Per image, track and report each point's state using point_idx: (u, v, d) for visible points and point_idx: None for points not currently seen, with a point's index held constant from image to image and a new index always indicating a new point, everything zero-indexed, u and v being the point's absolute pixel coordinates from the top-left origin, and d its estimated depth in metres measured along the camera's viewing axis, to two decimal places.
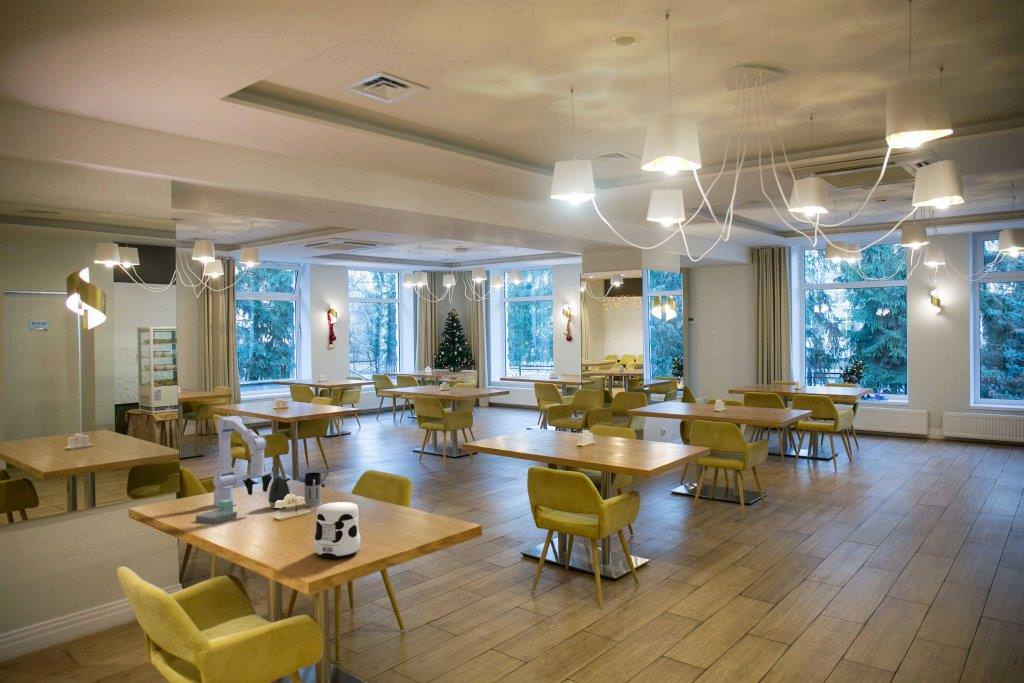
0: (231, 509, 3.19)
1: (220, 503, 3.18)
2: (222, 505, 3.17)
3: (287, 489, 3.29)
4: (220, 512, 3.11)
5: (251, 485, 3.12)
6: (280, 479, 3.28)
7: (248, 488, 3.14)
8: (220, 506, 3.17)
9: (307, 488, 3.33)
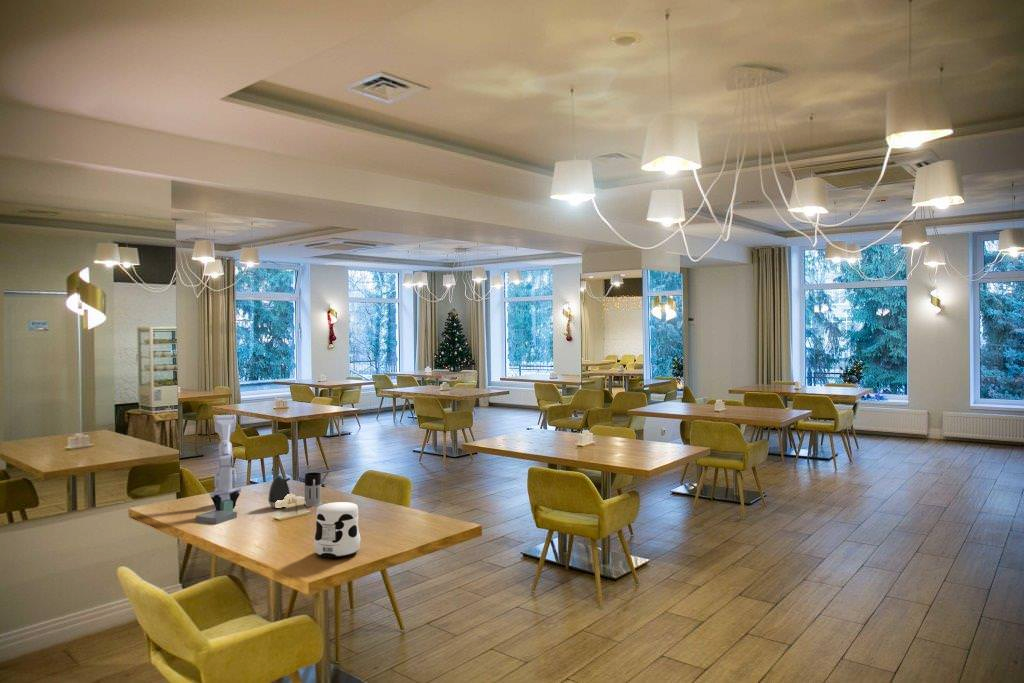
0: (231, 509, 3.19)
1: (220, 503, 3.18)
2: (222, 505, 3.17)
3: (287, 489, 3.29)
4: (220, 512, 3.11)
5: (219, 502, 3.14)
6: (280, 479, 3.28)
7: (216, 505, 3.16)
8: (220, 506, 3.17)
9: (307, 488, 3.33)
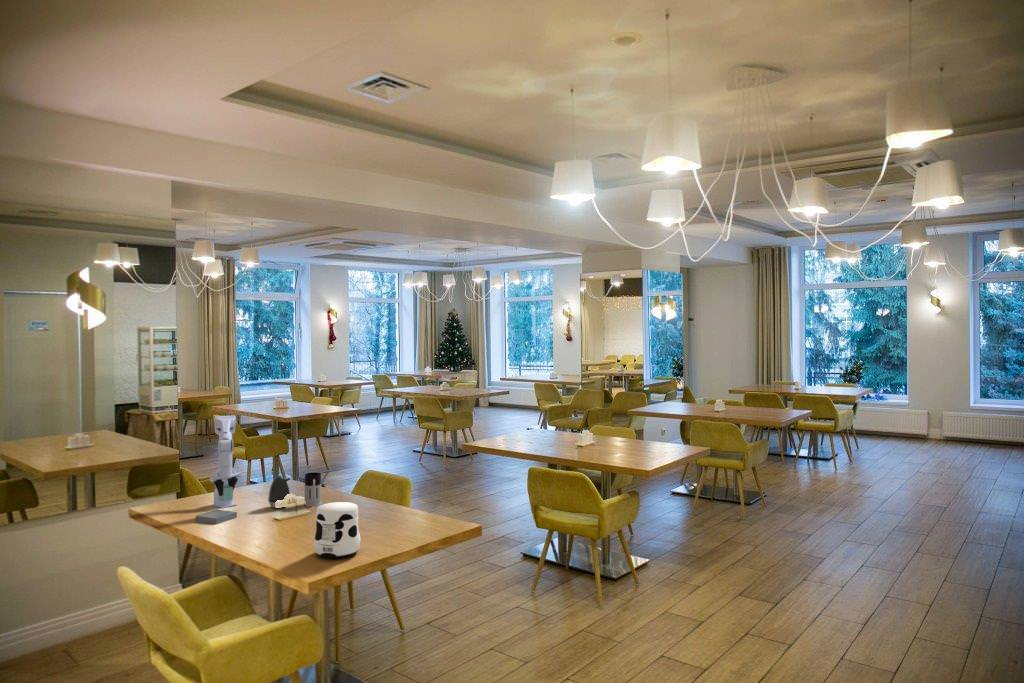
0: (231, 495, 3.19)
1: None
2: None
3: (287, 489, 3.29)
4: (220, 512, 3.11)
5: (221, 486, 3.15)
6: (280, 479, 3.28)
7: (219, 489, 3.17)
8: None
9: (307, 488, 3.33)
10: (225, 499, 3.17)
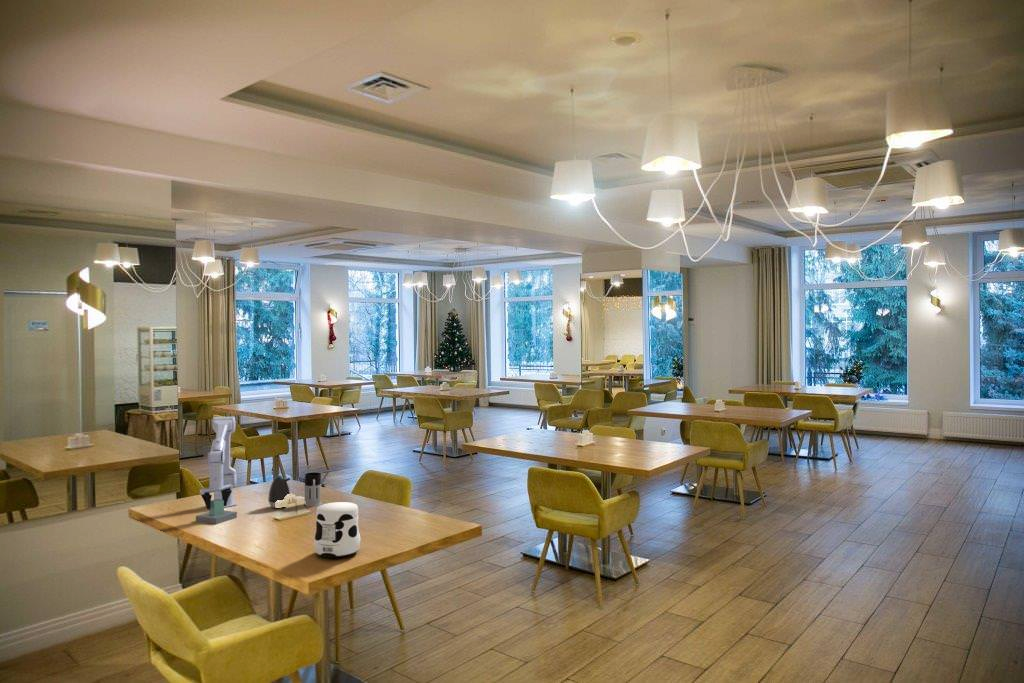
0: (222, 509, 3.09)
1: None
2: (212, 505, 3.07)
3: (287, 489, 3.29)
4: None
5: (209, 499, 3.04)
6: (280, 479, 3.28)
7: (206, 502, 3.06)
8: (211, 506, 3.07)
9: (307, 488, 3.33)
10: (216, 513, 3.07)
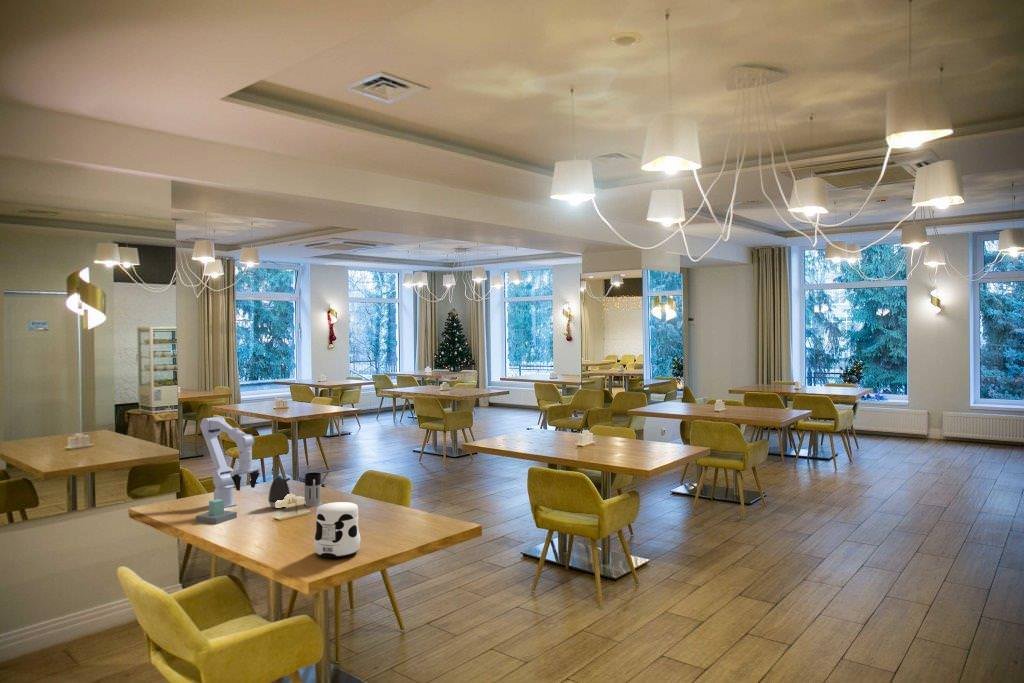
0: (222, 509, 3.09)
1: (210, 503, 3.08)
2: (212, 505, 3.07)
3: (287, 489, 3.29)
4: None
5: (239, 481, 3.22)
6: (280, 479, 3.28)
7: (236, 484, 3.23)
8: (211, 506, 3.07)
9: (307, 488, 3.33)
10: (216, 513, 3.07)
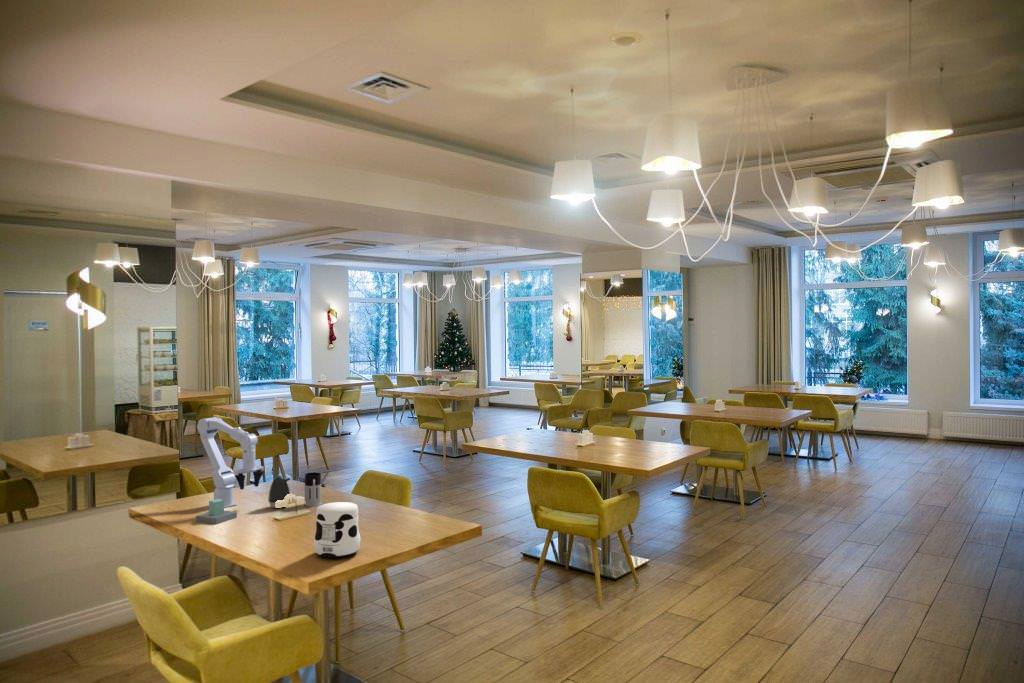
0: (222, 509, 3.09)
1: (210, 503, 3.08)
2: (212, 505, 3.07)
3: (287, 489, 3.29)
4: None
5: (243, 480, 3.24)
6: (280, 479, 3.28)
7: (240, 483, 3.25)
8: (211, 506, 3.07)
9: (307, 488, 3.33)
10: (216, 513, 3.07)
